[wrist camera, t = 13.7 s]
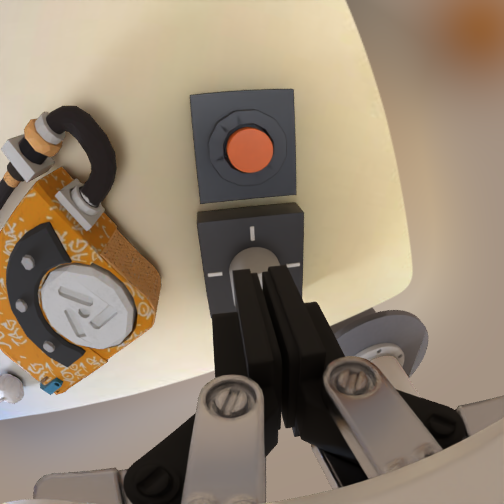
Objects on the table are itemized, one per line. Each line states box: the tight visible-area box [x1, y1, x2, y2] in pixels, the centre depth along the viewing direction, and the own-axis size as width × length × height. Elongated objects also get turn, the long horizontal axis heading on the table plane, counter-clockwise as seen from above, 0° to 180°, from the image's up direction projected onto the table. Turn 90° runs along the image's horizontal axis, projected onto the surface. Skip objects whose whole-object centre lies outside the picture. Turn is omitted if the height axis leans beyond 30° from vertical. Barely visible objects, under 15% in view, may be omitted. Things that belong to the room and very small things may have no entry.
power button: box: [226, 127, 273, 173], centre depth 25 cm, size 4×4×2 cm
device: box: [0, 106, 161, 395], centre depth 28 cm, size 23×8×30 cm
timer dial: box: [229, 247, 280, 304], centre depth 29 cm, size 5×5×5 cm
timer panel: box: [197, 203, 304, 318], centre depth 33 cm, size 11×10×3 cm
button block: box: [190, 89, 296, 204], centre depth 27 cm, size 10×9×4 cm
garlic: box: [0, 374, 24, 404], centre depth 37 cm, size 6×5×5 cm
